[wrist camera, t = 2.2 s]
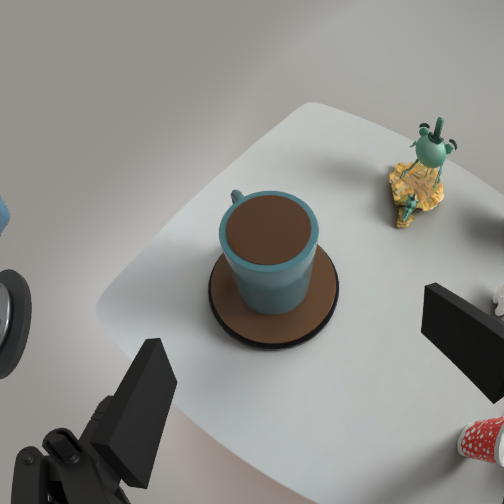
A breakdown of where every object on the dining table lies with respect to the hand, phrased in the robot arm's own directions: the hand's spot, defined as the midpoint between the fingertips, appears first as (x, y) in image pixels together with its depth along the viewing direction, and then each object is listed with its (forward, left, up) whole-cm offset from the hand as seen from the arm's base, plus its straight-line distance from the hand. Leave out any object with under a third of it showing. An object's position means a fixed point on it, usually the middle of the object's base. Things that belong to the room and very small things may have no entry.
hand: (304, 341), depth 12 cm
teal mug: (+3, +10, -17) cm, 20 cm away
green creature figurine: (+30, +12, -17) cm, 37 cm away
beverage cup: (+13, -21, -17) cm, 30 cm away
